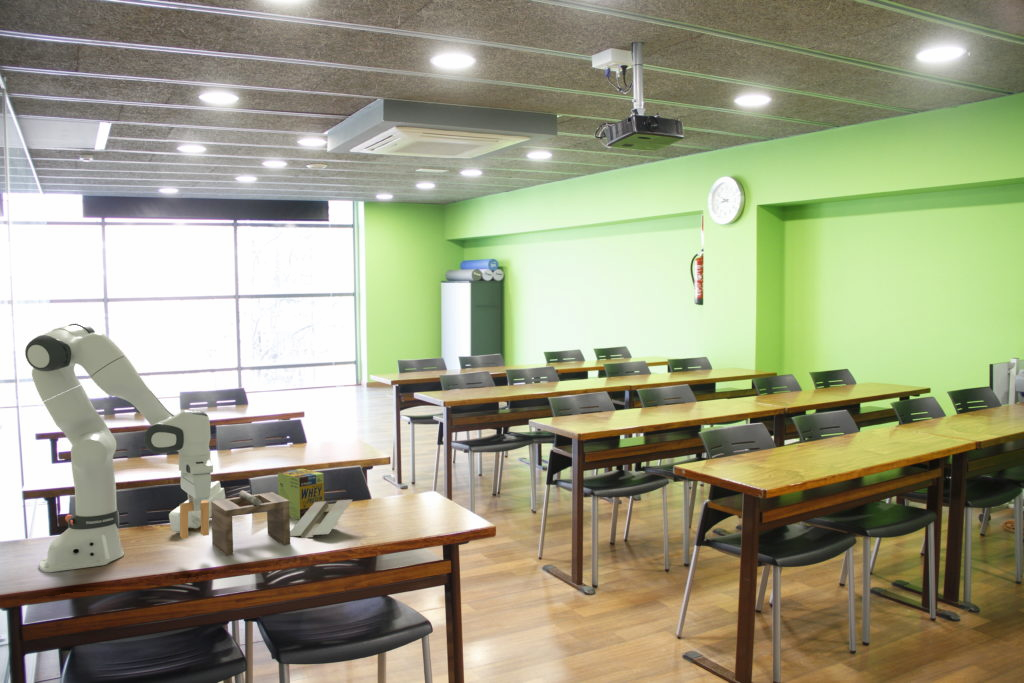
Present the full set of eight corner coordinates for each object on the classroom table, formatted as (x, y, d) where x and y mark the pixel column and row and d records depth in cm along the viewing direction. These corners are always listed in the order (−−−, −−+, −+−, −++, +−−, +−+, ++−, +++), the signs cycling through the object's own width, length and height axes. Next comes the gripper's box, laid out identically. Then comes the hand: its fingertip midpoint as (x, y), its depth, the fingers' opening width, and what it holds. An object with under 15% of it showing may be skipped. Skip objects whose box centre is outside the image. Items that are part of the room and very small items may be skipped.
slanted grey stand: (345, 551, 256) (364, 508, 267) (328, 533, 250) (348, 491, 262) (302, 553, 264) (322, 511, 276) (285, 536, 258) (307, 494, 270)
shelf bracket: (230, 515, 288) (225, 481, 285) (187, 550, 263) (180, 514, 260) (216, 514, 290) (210, 480, 287) (171, 549, 264) (165, 513, 261)
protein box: (300, 520, 278) (299, 477, 278) (278, 513, 289) (277, 472, 288) (325, 514, 286) (324, 473, 285) (302, 508, 296) (301, 467, 296)
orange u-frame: (182, 538, 231) (182, 505, 230) (180, 536, 233) (180, 503, 233) (208, 535, 235) (209, 502, 235) (206, 532, 237) (206, 500, 237)
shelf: (226, 555, 237) (225, 504, 237) (212, 544, 250) (210, 494, 250) (290, 543, 249) (289, 494, 249) (273, 533, 262) (272, 486, 262)
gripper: (175, 459, 240) (175, 503, 240) (192, 469, 223) (192, 517, 224) (196, 457, 244) (196, 501, 244) (214, 467, 227) (214, 514, 228)
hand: (194, 509), depth 234 cm, fingers closed on orange u-frame, 3 cm apart
